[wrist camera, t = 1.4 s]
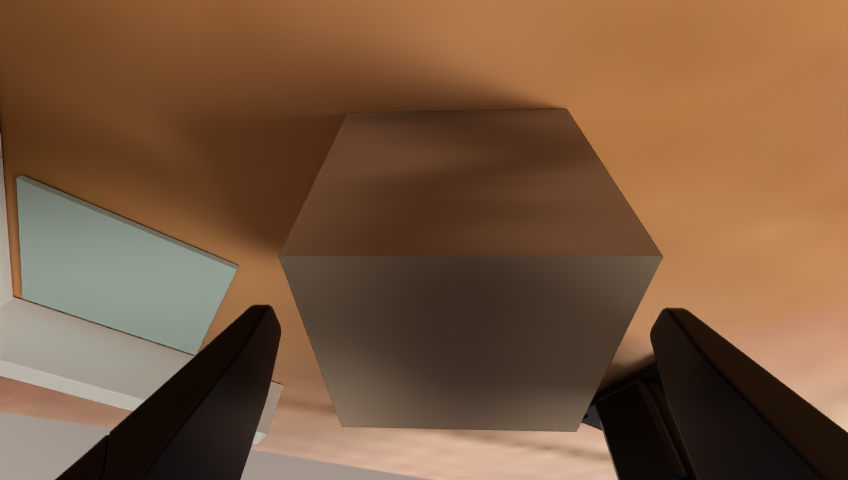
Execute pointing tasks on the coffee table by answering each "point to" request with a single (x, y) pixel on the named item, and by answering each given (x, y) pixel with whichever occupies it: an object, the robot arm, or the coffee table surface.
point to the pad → (116, 269)
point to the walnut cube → (465, 270)
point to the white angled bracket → (84, 350)
